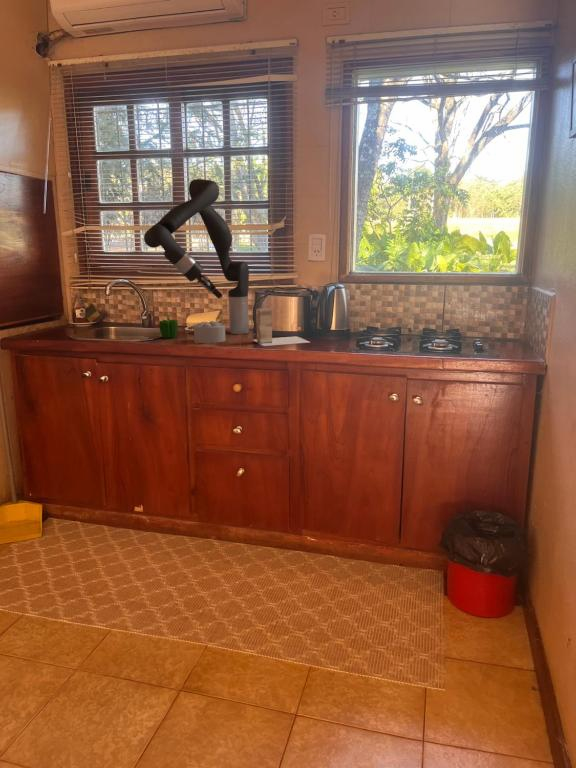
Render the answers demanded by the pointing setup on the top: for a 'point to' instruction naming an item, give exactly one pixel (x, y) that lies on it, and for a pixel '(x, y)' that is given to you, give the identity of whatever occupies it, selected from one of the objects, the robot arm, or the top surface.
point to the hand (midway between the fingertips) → (220, 296)
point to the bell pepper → (168, 328)
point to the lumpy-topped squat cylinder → (209, 332)
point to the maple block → (264, 325)
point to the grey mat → (284, 341)
